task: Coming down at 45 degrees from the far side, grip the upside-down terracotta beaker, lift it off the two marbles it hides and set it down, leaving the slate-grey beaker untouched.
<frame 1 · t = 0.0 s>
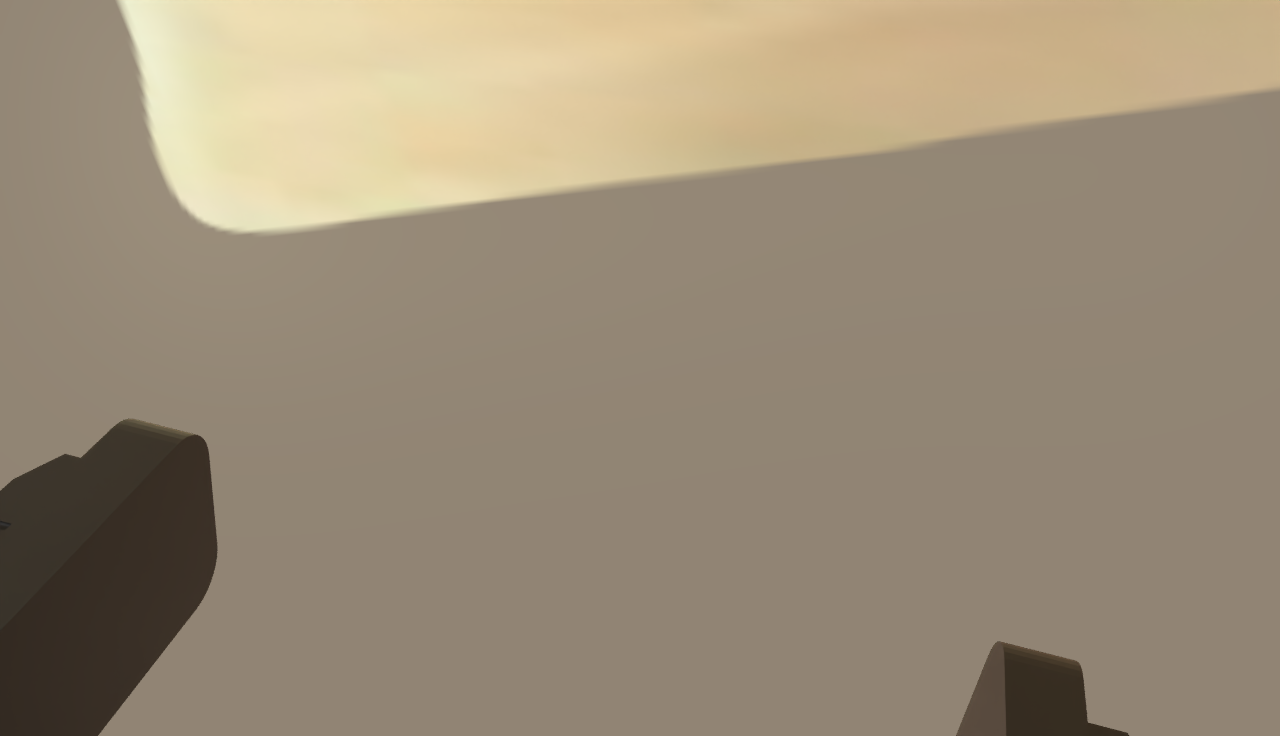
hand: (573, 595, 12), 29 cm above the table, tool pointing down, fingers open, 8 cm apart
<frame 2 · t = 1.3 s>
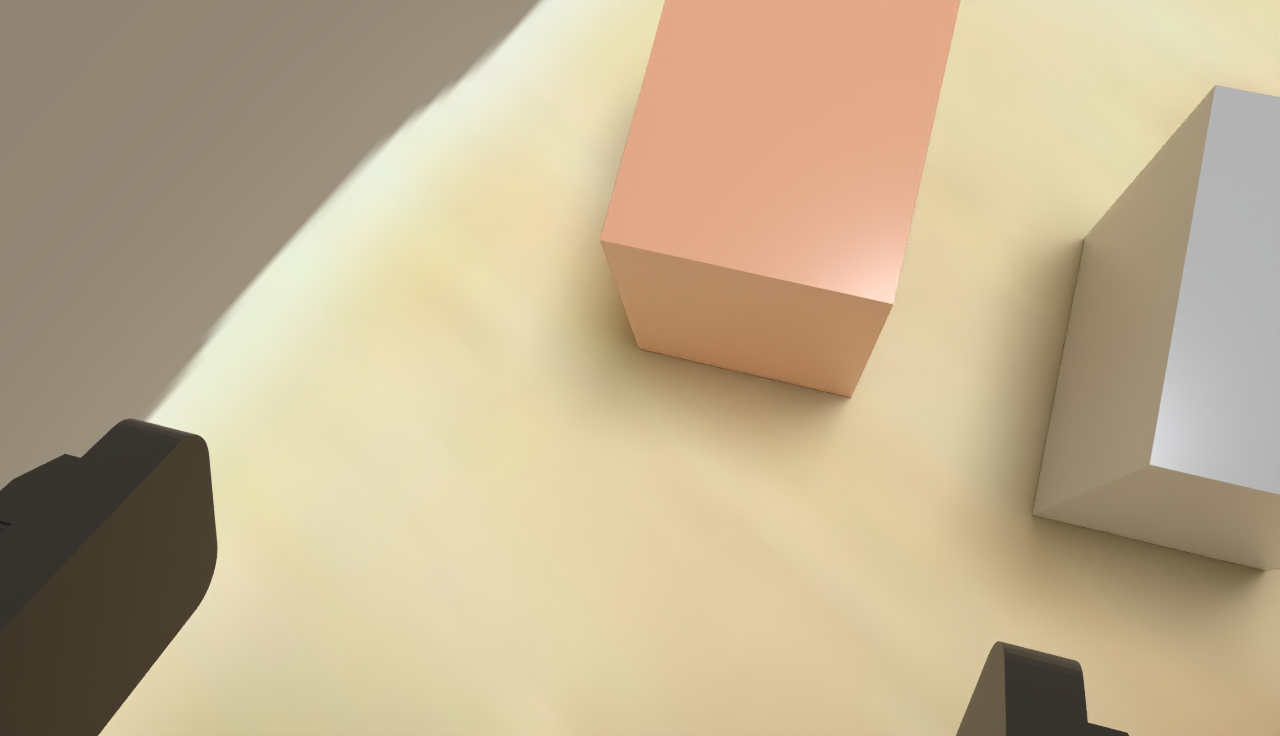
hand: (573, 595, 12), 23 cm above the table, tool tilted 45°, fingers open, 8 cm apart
terracotta cup: (775, 240, 37), on the table
slate cup: (1172, 398, 35), on the table
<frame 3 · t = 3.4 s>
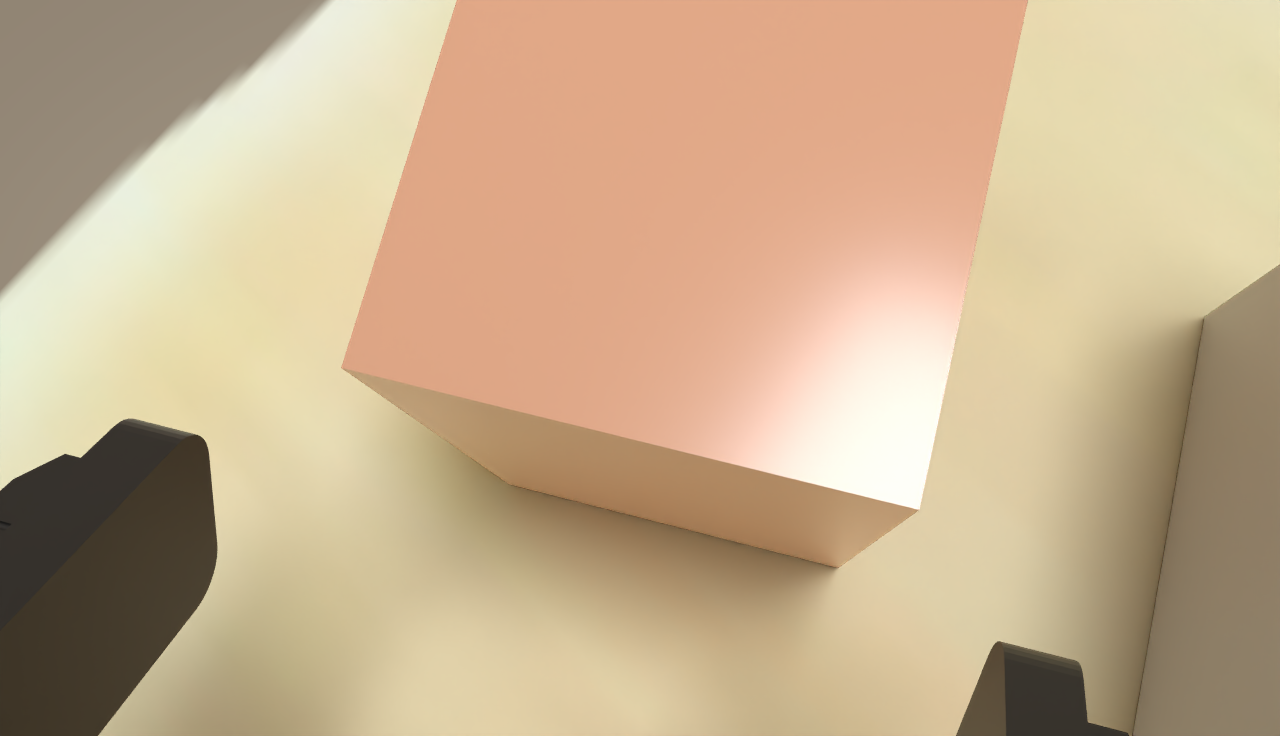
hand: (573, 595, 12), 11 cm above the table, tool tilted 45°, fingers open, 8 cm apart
terracotta cup: (723, 315, 24), on the table
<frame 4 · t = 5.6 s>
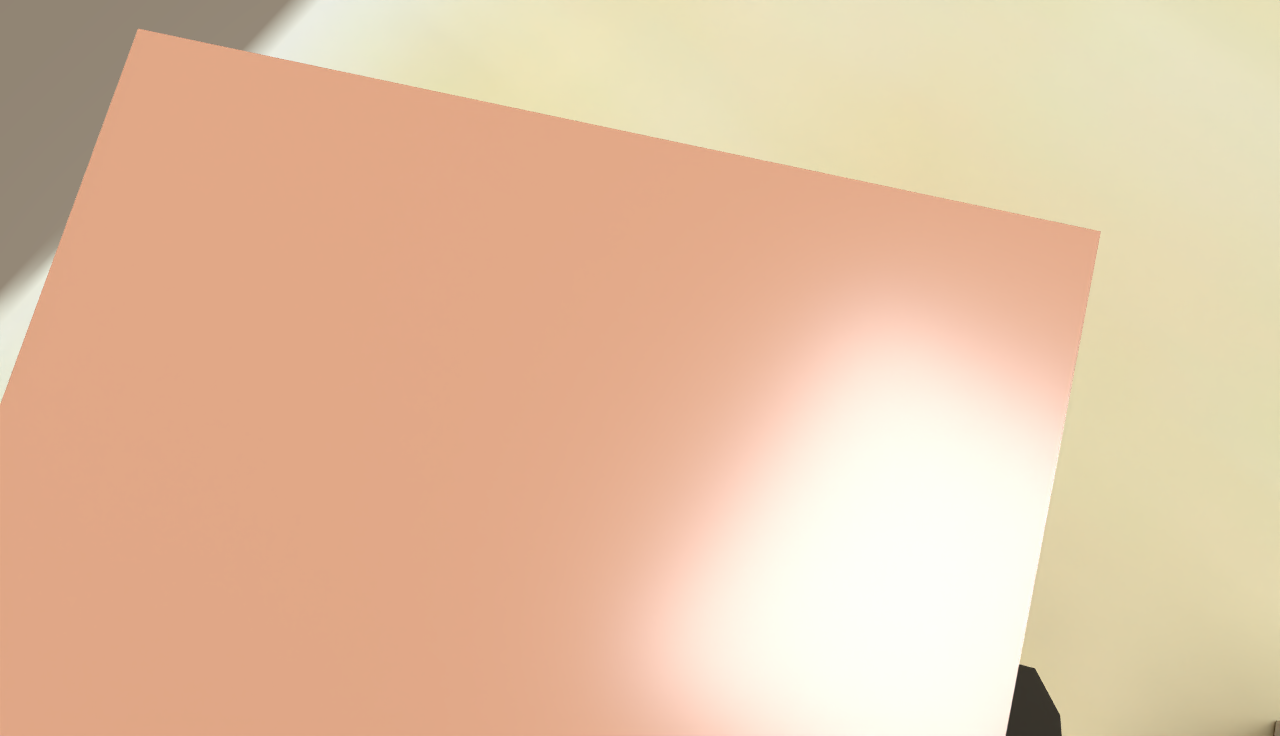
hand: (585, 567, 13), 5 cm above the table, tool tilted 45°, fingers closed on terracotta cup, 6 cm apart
terracotta cup: (598, 703, 17), on the table, touching gripper
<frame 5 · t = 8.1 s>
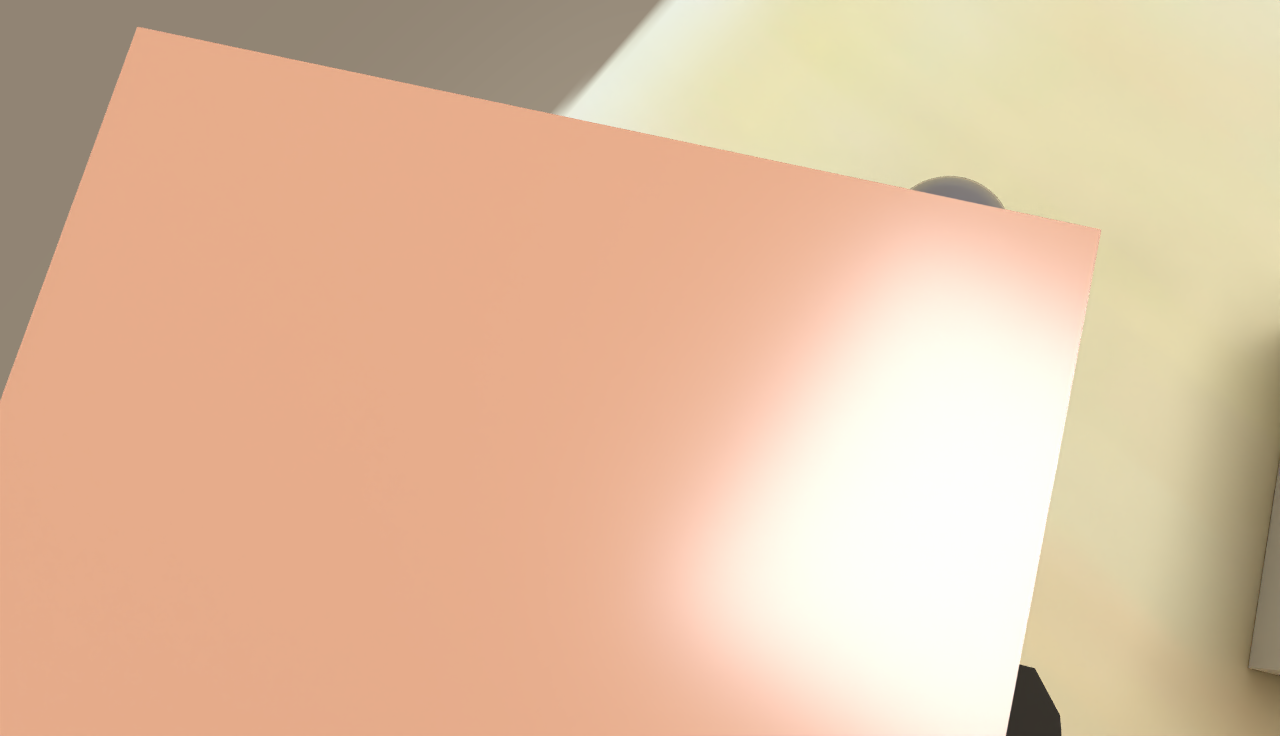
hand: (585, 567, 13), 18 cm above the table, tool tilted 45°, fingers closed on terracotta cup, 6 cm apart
terracotta cup: (598, 702, 17), point 13 cm above the table, touching gripper
marble charcoal: (937, 257, 31), on the table
when the fingers open (6 cm above the table, at t = 10.8 s): terracotta cup drops 1 cm, on the table.
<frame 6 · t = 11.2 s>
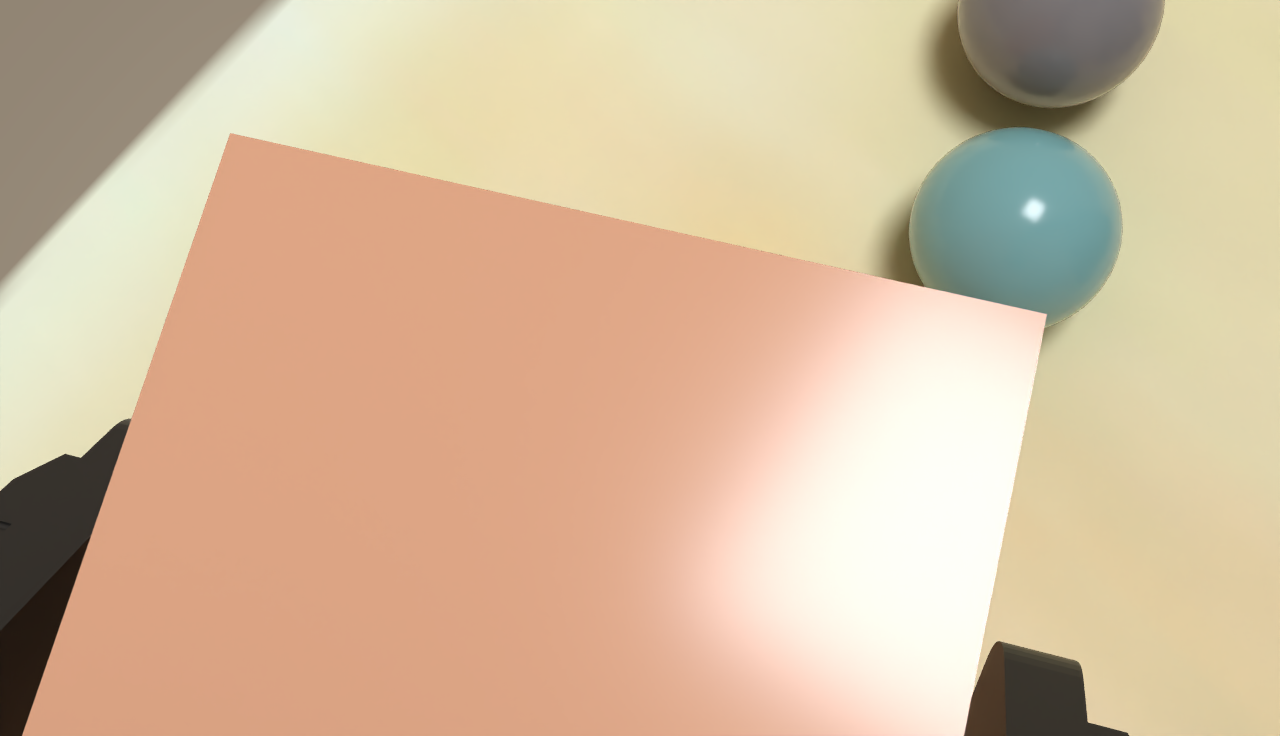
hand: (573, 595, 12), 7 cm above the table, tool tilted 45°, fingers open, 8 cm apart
marble teal: (992, 261, 19), on the table
terracotta cup: (611, 706, 18), on the table
marble charcoal: (1034, 54, 20), on the table
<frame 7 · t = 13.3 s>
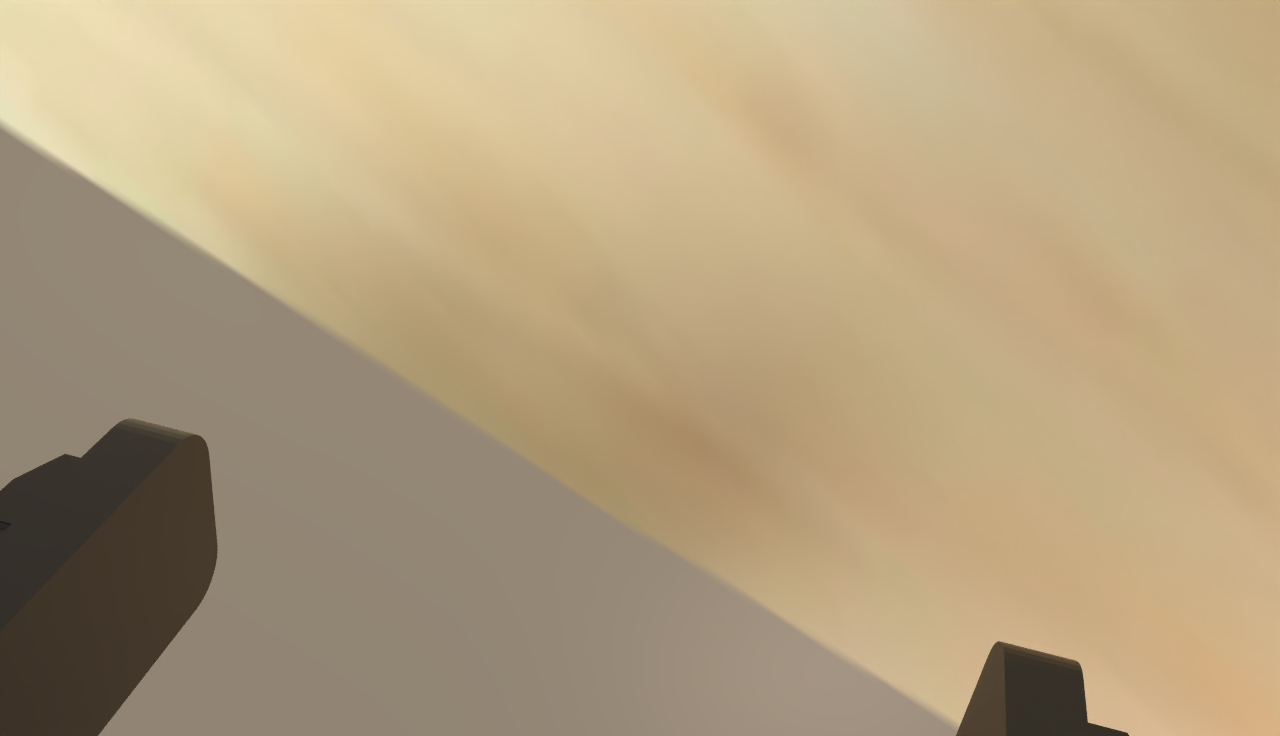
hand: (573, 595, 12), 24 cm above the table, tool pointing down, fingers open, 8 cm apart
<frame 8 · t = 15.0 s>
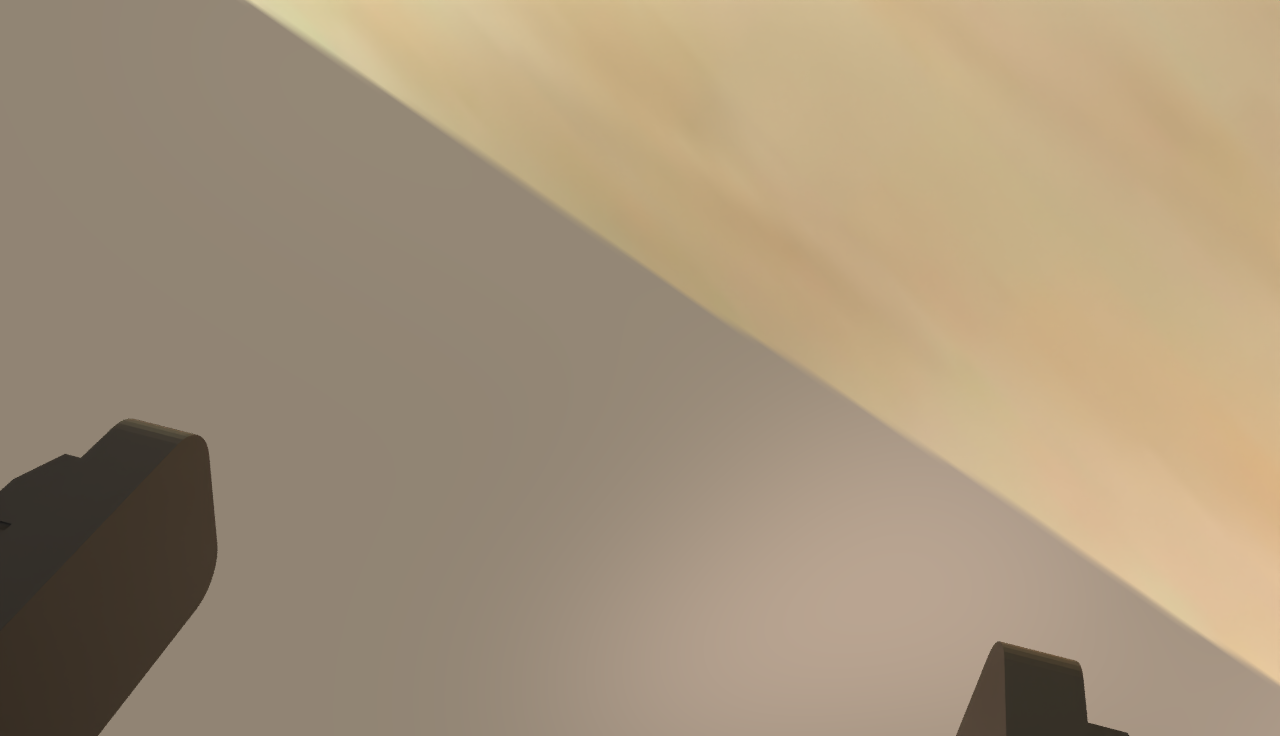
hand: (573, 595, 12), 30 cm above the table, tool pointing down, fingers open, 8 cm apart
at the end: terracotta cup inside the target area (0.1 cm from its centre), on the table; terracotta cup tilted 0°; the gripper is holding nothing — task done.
